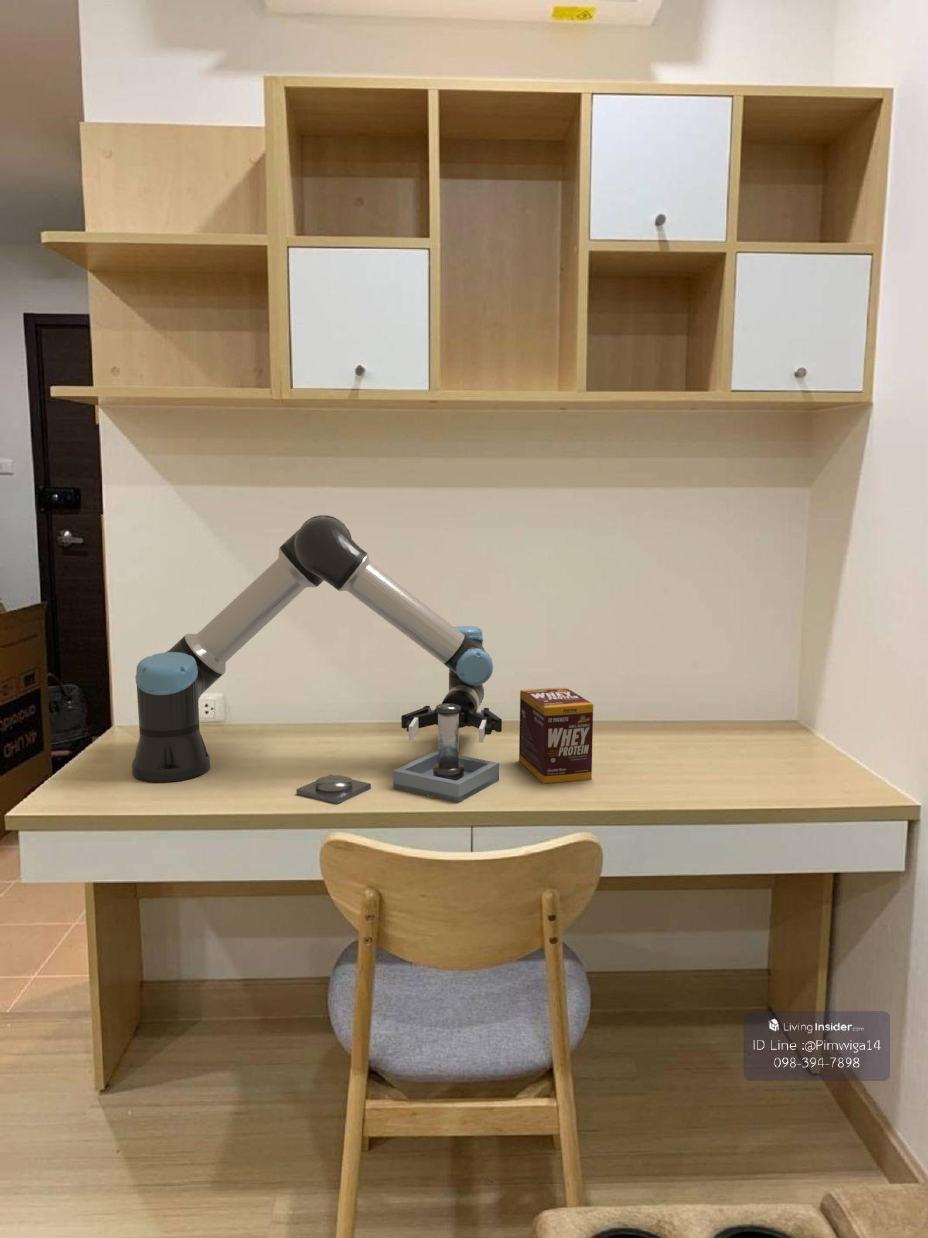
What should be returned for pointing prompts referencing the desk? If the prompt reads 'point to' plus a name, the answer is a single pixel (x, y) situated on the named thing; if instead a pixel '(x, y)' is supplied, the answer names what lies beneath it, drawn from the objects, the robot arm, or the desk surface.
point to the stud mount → (333, 788)
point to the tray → (423, 782)
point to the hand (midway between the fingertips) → (445, 734)
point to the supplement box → (556, 734)
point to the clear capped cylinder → (448, 743)
